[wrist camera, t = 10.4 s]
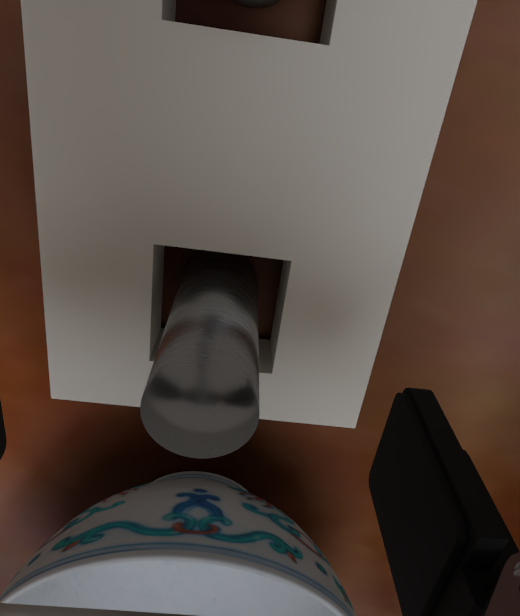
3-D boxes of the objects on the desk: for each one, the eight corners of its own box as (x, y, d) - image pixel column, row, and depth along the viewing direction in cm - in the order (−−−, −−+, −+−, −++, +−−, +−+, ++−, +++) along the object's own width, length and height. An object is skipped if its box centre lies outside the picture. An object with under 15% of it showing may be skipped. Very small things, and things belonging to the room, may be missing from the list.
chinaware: (287, 363, 21) (303, 509, 14) (370, 570, 28) (408, 740, 21) (-10, 453, 23) (-120, 617, 16) (131, 626, 30) (94, 796, 23)
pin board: (39, -314, 12) (-277, -861, 5) (505, -223, 13) (818, -574, 6) (72, 362, 21) (-21, 518, 14) (344, 390, 22) (388, 551, 15)
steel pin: (184, 243, 19) (141, 358, 11) (262, 252, 19) (267, 371, 12) (180, 312, 20) (138, 452, 13) (252, 320, 20) (251, 463, 13)
